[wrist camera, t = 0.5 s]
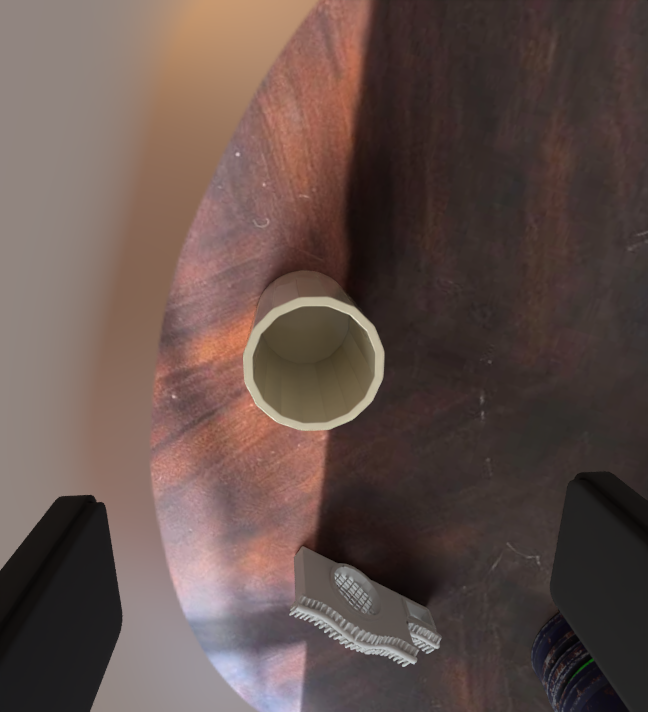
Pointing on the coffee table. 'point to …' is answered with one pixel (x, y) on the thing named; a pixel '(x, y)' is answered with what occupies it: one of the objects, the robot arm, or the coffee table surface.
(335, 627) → the lattice window wall
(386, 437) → the coffee table surface
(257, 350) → the paper cup
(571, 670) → the navy cylinder
